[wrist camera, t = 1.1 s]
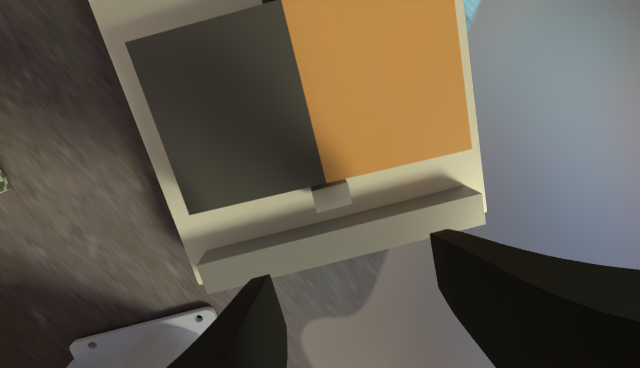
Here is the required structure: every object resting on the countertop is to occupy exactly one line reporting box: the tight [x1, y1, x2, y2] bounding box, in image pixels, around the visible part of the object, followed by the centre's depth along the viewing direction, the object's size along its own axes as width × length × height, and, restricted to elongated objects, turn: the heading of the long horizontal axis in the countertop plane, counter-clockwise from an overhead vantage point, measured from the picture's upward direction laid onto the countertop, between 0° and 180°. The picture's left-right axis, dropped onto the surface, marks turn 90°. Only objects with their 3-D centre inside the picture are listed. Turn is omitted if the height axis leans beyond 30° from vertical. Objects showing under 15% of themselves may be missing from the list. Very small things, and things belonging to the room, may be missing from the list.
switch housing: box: [88, 0, 487, 294], centre depth 15 cm, size 16×16×6 cm
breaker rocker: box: [125, 0, 472, 215], centre depth 13 cm, size 12×7×1 cm, turn 104°
